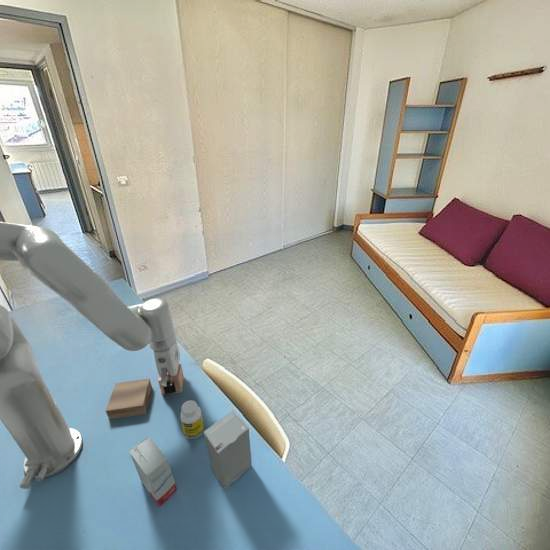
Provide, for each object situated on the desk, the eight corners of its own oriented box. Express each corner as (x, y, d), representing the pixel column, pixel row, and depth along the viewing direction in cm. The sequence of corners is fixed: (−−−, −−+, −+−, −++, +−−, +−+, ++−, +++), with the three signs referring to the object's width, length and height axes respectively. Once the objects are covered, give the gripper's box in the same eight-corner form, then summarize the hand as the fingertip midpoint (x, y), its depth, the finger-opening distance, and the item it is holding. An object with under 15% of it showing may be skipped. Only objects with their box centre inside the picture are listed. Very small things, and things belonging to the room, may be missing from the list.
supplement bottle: (184, 442, 81) (178, 417, 76) (183, 424, 85) (178, 400, 80) (204, 436, 82) (200, 412, 77) (203, 419, 86) (199, 395, 82)
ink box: (178, 490, 70) (169, 459, 65) (158, 508, 67) (147, 478, 62) (159, 465, 75) (149, 435, 70) (140, 480, 72) (128, 450, 67)
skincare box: (237, 447, 79) (232, 406, 72) (254, 468, 74) (251, 427, 67) (209, 470, 74) (200, 428, 67) (225, 494, 69) (218, 452, 62)
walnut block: (145, 414, 88) (142, 405, 87) (109, 420, 87) (105, 410, 85) (152, 387, 97) (149, 378, 95) (118, 392, 96) (115, 383, 94)
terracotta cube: (181, 392, 95) (178, 378, 92) (161, 394, 94) (158, 380, 92) (183, 377, 100) (181, 364, 97) (165, 379, 100) (161, 366, 97)
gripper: (171, 358, 81) (181, 401, 89) (179, 319, 96) (187, 359, 104) (141, 361, 80) (155, 404, 89) (154, 321, 95) (165, 362, 104)
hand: (173, 380), depth 96 cm, fingers open, 9 cm apart
